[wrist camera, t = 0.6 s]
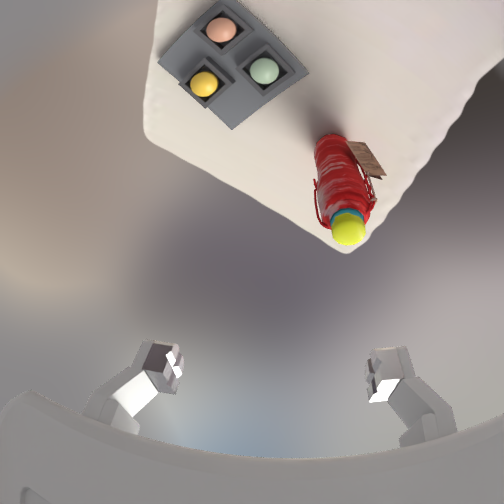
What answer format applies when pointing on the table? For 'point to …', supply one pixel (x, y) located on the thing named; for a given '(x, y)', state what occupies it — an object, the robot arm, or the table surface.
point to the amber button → (204, 83)
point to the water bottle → (344, 186)
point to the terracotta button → (221, 29)
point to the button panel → (232, 63)
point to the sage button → (264, 70)
